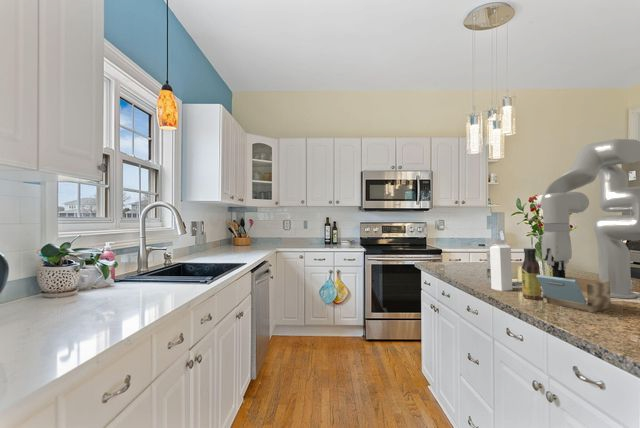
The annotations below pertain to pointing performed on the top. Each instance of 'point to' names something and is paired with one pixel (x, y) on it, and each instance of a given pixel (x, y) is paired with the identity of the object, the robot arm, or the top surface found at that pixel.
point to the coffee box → (488, 267)
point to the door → (561, 288)
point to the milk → (501, 266)
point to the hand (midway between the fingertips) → (559, 280)
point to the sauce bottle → (530, 275)
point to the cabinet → (587, 295)
